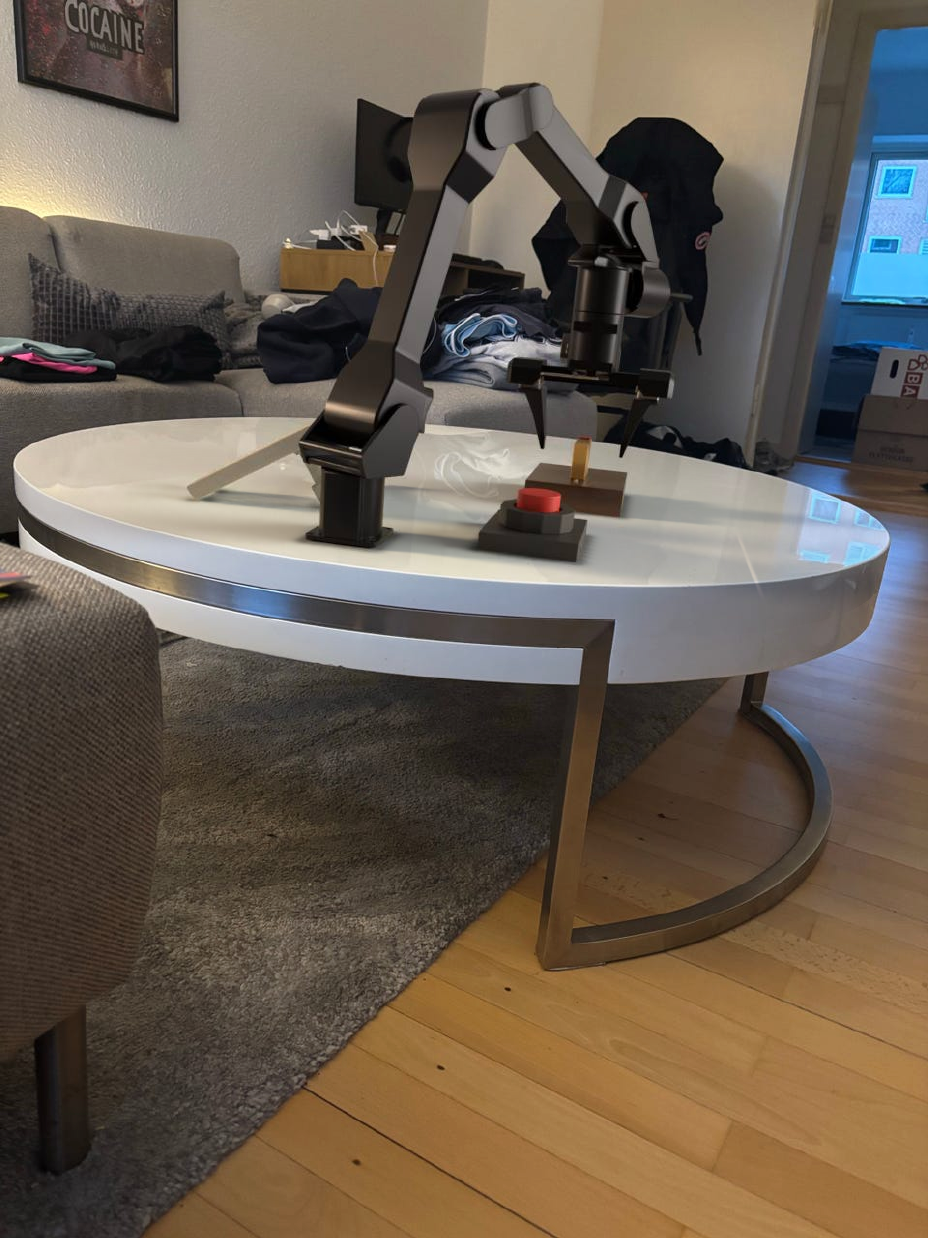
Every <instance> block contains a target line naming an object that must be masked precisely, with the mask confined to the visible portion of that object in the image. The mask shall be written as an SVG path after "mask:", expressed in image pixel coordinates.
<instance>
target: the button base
mask: <svg viewBox="0 0 928 1238" xmlns="http://www.w3.org/2000/svg"><path fill="white" fill-rule="evenodd" d="M575 515H576V512H575V509H573V508H571V507H569V506H567V505H564V504H560V506H559V511H558V512H537V511H528V510H524V509H520V508H517V498H514V499H506V500H503V501H502V502H501V503H500V506H499V508H498V510H497V511H496V512H494V514H493V515H492V516H491V517H490V519H488V521H487V522H485V524H484V525H483V527H481V529H480V530H479V531H478V537H477V538H478V539H477V548H476V549H477V550H480V551H487V552H496V553H501V554H511V555H518V556H525V557H532V558H533V557H534V558H541V559H548V560H549V559H550V560H555V561H556V560H557V561H564V562H571V563H572V562H573V563H577V562H578V559H579V556H580V553H581V550H582V548H583V545H584V541H585V539H586V535H587V529H588V528H587V526H588V519H583V518H575Z"/></svg>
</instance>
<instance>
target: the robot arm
mask: <svg viewBox="0 0 928 1238" xmlns="http://www.w3.org/2000/svg"><path fill="white" fill-rule="evenodd" d="M413 114H414V115H413V118H412V124H411V130H410V135H409V140H408V146H407V160H408V164H409V168H410V169H409V170H410V174H411V178H412V179H411V180H412V183H413V187H412V192H411V195H410V198H409V202H408V205H407V208H406V211H405V215H404V218H403V222H402V225H401V229H400V232H399V234H398V238H397V242H396V245H395V248H394V250H393V254H392V257H391V260H390V265H389V267H388V271H387V274H386V277H385V279H384V283H383V286H382V290H381V294H380V297H379V300H378V303H377V306H376V309H375V313H374V316H373V319H372V322H371V326H370V329H369V333H368V336H367V339H366V341H365V343H364V345H363V347H361V349H360V350H359V351H358V352H356V354H355V355H354V356H353V357H352V358H351V359H350V360H349V361H348V362H347V363H346V365H344V367H342V368H341V370H340V372H339V373H338V376H337V377H336V380H335V382H334V384H333V387H332V389H331V391H330V393H329V395H328V398H327V399H326V402H325V404H324V405H325V406H324V409H322V411H321V412H320V414H319V415H318V416H317V417H316V418H315V420H313V421H314V422H313V421H312V422H313V424H312V425H311V426H310V427H309V429H308V430H307V431H306V432H305V434H304V435H303V436H302V437H301V439H300V440H299V443H298V444H299V448H300V452H301V456H302V458H301V460H302V463H303V464H305V463H306V464H314V465H318V466H321V479H320V502H319V511H318V512H319V514H318V525H317V526H315V527H314V528H312V529H310V530H309V531H307V532H305V535H304V538H305V539H306V540H311V541H318V542H325V543H331V544H332V543H333V544H341V545H348V546H349V545H350V546H354V547H355V546H356V547H363V548H376V547H378V546H379V545H381V544H382V543H383V542H385V541H386V540H387V539H389V538H390V537H391V536H393V534H394V528H393V527H388V526H383V523H384V521H383V520H384V505H385V504H384V503H385V486H386V479H387V478H394V477H395V478H396V477H403V476H405V475H406V471H407V468H408V465H409V462H410V459H411V456H412V452H413V449H414V446H415V444H416V442H417V439H418V437H419V434H425V432H426V420H427V416H428V414H429V413H428V412H429V411H430V408H431V406H432V404H433V401H434V396H435V392H434V391H435V390H434V389H433V388H432V387H429V386H425V383H424V378H423V374H422V370H421V365H420V364H421V358H422V356H423V355H422V354H423V351H424V349H425V346H426V342H427V338H428V335H429V332H430V330H431V326H432V322H433V319H434V317H435V313H436V310H437V306H438V304H439V300H440V296H441V293H442V291H443V287H444V284H445V281H446V278H447V274H448V271H449V268H450V264H451V261H452V257H453V255H454V252H455V248H456V245H457V241H458V238H459V236H460V232H461V228H462V225H463V222H464V219H465V216H466V213H467V210H468V208H469V206H470V204H472V202H473V201H474V200H475V199H476V198H477V197H478V196H480V194H481V192H483V191H484V189H486V188H487V186H488V185H489V184H490V183H491V182H492V181H493V180H494V179H495V178H496V177H495V176H496V174H497V172H498V170H499V168H500V166H501V165H502V162H503V159H504V157H505V155H506V153H507V151H508V149H509V147H510V146H511V145H514V146H516V148H517V149H518V150H519V151H520V153H521V154H522V155H523V156H524V157H525V159H526V160H527V161H528V163H530V164H531V165H532V166H533V168H534V169H535V171H537V173H538V174H539V175H540V176H541V178H542V179H543V180H544V181H545V182H546V184H547V185H548V186H549V187H550V188H551V189H552V190H553V191H554V193H555V194H556V195H557V197H559V199H560V200H561V201H562V202H563V204H564V206H565V207H566V209H565V210H566V211H565V212H566V213H565V223H566V225H567V226H568V228H569V230H570V231H571V233H572V235H573V236H574V238H575V239H576V242H577V243H578V244H579V245H580V247H579V249H578V250H577V251H576V252H574V253H573V254H572V255H571V256H570V257H569V258H568V259H567V264H568V266H571V267H577V275H576V282H575V283H576V284H575V290H574V291H575V293H574V300H573V311H572V318H571V326H570V327H571V328H570V333H567V332H563V334H562V337H561V342H560V343H561V344H560V350H559V361H560V363H561V364H566V366H561V365H550V364H548V359H547V358H540V357H539V358H538V357H528V356H515V357H513V358H511V359H510V360H509V361H508V364H507V367H506V378H505V383H509V384H517V385H518V386H517V387H516V392H519V393H524V396H525V398H526V401H527V404H528V406H529V409H530V412H531V414H532V418H533V421H534V426H535V431H536V435H537V440H538V444H539V449H541V450H545V449H546V442H547V396H548V386H547V385H544V384H545V383H546V382H554V383H564V384H573V385H574V384H575V385H585V386H593V387H594V386H595V387H605V388H606V387H607V388H615V389H624V390H634V391H635V394H634V395H633V398H632V402H631V405H630V409H629V413H628V417H627V420H626V424H625V428H624V431H623V435H622V438H621V442H620V447H619V453H618V458H619V459H623V457H624V455H625V453H626V451H627V448H628V446H629V445H630V442H631V440H632V438H633V435H634V434H635V431H636V429H637V427H638V426H639V423H640V422H641V420H642V419H643V417H644V416H645V415H646V412H647V411H648V409H649V408H650V406H655V407H656V406H657V407H658V406H660V402H661V401H660V399H669V400H672V399H673V396H674V395H673V394H674V387H675V382H676V381H675V380H676V378H675V375H674V374H673V373H672V371H671V370H664V369H656V368H655V369H653V368H643V367H641V368H640V369H639V373H634V372H633V373H632V372H625V371H623V372H622V371H619V368H620V361H621V354H622V348H621V343H622V337H623V336H622V335H623V328H624V321H625V317H634V318H641V319H650V318H654V317H656V316H658V315H659V314H660V313H662V312H663V311H664V309H665V308H666V307H667V306H668V303H669V300H670V298H671V297H670V296H671V288H670V281H669V279H668V277H667V276H666V274H665V273H664V271H662V270H661V269H659V268H660V261H661V260H660V257H659V255H658V253H657V252H658V251H657V247H656V241H655V237H654V231H653V227H652V222H651V218H650V212H649V209H648V206H647V202H646V200H645V198H644V196H643V194H642V193H641V192H640V191H639V190H638V189H636V188H635V187H634V186H633V185H632V184H630V183H629V181H627V180H624V179H622V178H621V177H620V178H619V177H617V176H615V175H613V174H611V173H608V172H607V171H606V170H604V169H603V167H602V166H601V165H600V164H599V162H598V161H597V160H596V159H595V157H594V155H592V153H591V152H590V150H589V149H588V148H587V146H586V145H585V144H584V143H583V141H582V139H581V138H580V137H579V136H578V134H577V133H576V132H575V130H574V129H573V128H572V126H571V125H570V124H569V123H568V121H567V120H566V118H565V117H564V116H563V114H562V113H561V112H560V110H559V109H558V108H557V107H556V105H555V104H554V97H553V94H552V92H551V90H550V89H549V87H547V86H546V85H544V84H541V83H539V82H536V81H533V82H524V83H516V84H515V83H514V84H507V85H502V86H501V87H500V88H499V89H495V90H493V89H492V88H487V87H481V88H471V89H463V90H454V91H446V92H436V93H435V92H434V93H431V94H429V95H427V96H426V97H422V98H421V99H420V101H418V103H417V106H416V108H415V110H414V113H413ZM574 373H575V374H574ZM301 456H300V457H301ZM306 464H305V465H306Z"/></svg>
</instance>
